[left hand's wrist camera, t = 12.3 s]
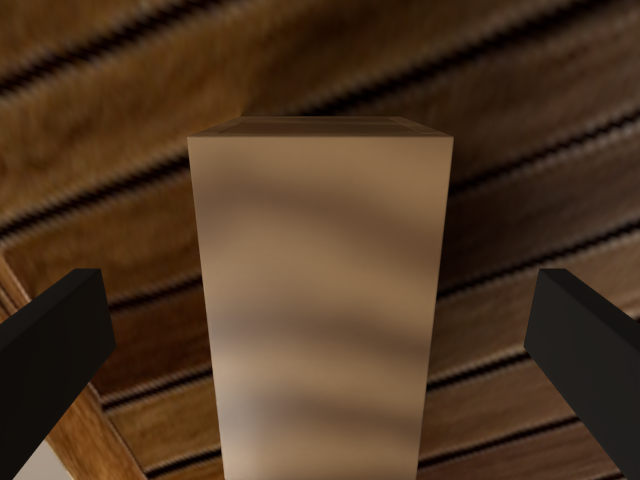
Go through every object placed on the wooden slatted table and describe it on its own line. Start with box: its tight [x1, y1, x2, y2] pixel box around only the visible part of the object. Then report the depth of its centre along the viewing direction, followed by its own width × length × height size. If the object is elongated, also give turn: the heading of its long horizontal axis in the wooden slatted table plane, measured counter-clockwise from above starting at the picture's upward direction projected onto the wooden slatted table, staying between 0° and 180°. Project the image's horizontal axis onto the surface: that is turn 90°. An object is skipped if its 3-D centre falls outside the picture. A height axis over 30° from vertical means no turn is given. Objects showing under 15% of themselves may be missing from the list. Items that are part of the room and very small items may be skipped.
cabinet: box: [187, 116, 454, 480], centre depth 26 cm, size 19×11×12 cm, turn 0°
